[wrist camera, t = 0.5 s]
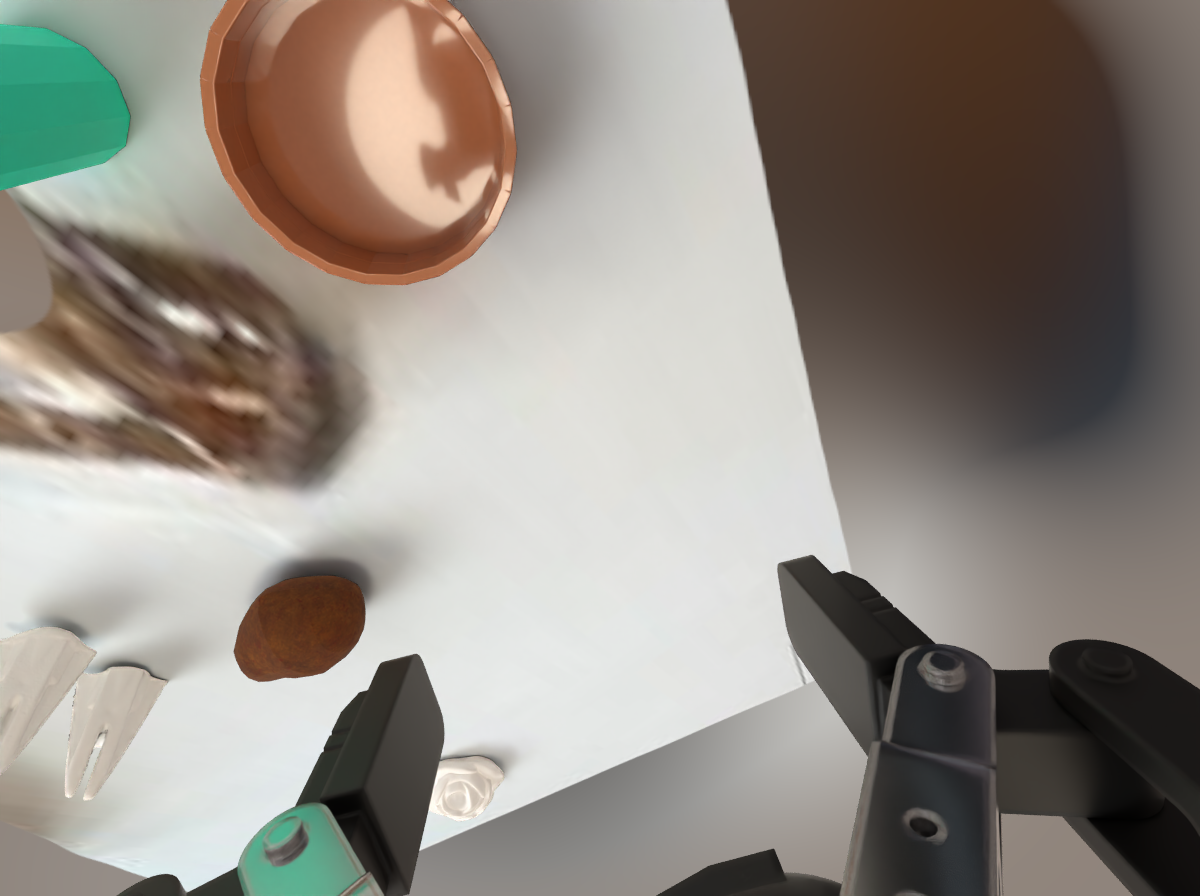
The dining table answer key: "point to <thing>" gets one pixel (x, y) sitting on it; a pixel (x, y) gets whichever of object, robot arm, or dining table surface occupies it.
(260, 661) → the potato
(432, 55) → the pot
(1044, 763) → the robot arm
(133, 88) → the dining table surface
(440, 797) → the rose
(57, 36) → the candle
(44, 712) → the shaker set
